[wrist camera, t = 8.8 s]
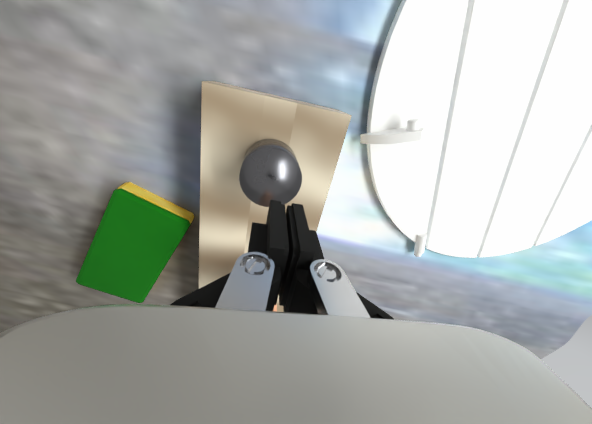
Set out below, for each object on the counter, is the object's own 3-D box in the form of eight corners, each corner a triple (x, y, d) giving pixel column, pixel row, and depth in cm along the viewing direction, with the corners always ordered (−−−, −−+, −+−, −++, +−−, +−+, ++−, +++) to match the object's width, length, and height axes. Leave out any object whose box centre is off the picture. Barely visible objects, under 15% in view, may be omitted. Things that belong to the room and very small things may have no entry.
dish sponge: (197, 212, 25) (190, 224, 23) (150, 289, 30) (141, 304, 28) (128, 178, 23) (114, 188, 21) (88, 268, 28) (74, 283, 25)
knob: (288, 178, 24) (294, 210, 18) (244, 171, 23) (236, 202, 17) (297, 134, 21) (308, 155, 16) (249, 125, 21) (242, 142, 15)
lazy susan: (358, 275, 33) (367, 294, 30) (353, -212, 13) (378, -298, 10) (624, 225, 34) (659, 239, 31) (1000, -305, 14) (1199, -410, 11)
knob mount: (278, 326, 36) (279, 352, 33) (204, 324, 34) (197, 351, 31) (337, 109, 21) (351, 115, 18) (213, 81, 19) (201, 81, 16)
